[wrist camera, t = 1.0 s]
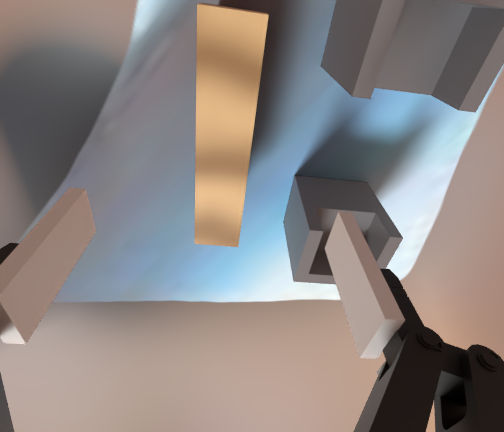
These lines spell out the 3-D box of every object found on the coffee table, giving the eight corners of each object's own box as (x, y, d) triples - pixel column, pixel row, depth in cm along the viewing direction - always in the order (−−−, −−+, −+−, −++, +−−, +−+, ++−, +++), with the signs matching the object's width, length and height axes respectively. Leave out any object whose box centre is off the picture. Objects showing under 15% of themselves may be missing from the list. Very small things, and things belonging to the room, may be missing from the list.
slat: (202, 2, 18) (197, 4, 16) (266, 12, 19) (268, 14, 17) (197, 226, 29) (194, 243, 27) (238, 229, 29) (238, 246, 27)
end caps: (343, -31, 22) (395, -42, 15) (448, -13, 23) (548, -15, 15) (283, 221, 37) (293, 281, 29) (348, 227, 37) (374, 286, 30)
